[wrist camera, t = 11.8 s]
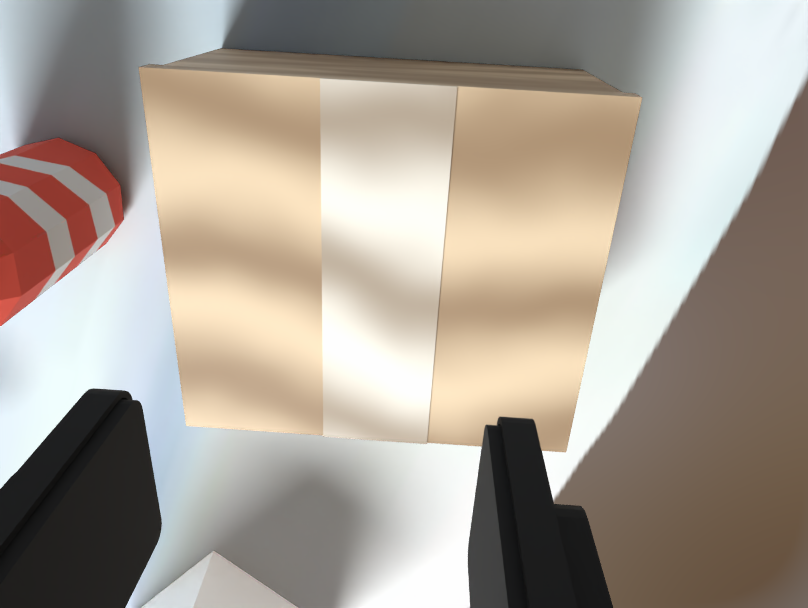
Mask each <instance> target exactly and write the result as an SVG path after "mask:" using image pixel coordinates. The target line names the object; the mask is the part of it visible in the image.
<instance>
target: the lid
mask: <svg viewBox="0 0 808 608" xmlns="http://www.w3.org/2000/svg"><path fill="white" fill-rule="evenodd" d="M139 74H140V82H141V89H142V97H143V104H144V112H145V119H146V127H147V134H148V142H149V149H150V157H151V164H152V172H153V180H154V187H155V195H156V202H157V210H158V217H159V225H160V232H161V240H162V247H163V255H164V262H165V270H166V278H167V285H168V293H169V300H170V308H171V315H172V323H173V330H174V338H175V345H176V353H177V360H178V368H179V375H180V383H181V391H182V398H183V406H184V413H185V421H186V426H195V427H210V428H224V429H239V430H253V431H267V432H282V433H296V434H310V435H323V437H334V438H349V439H363V440H377V441H392V442H406V443H420V444H427V443H440V444H454V445H468V446H482V442H483V435H484V428H485V425H497V421H498V418H499V417H515V418H529V419H533V420H534V421H535V424H536V428H537V433H538V437H539V442H540V446H541V450H542V451H555V452H566V450H567V446H568V441H569V436H570V432H571V427H572V422H573V418H574V413H575V408H576V404H577V399H578V394H579V390H580V385H581V380H582V376H583V371H584V366H585V362H586V357H587V353H588V348H589V343H590V339H591V334H592V329H593V325H594V320H595V315H596V311H597V306H598V301H599V297H600V292H601V287H602V283H603V278H604V273H605V269H606V264H607V259H608V255H609V250H610V245H611V241H612V236H613V232H614V227H615V222H616V218H617V213H618V208H619V204H620V199H621V194H622V190H623V185H624V180H625V176H626V171H627V166H628V162H629V157H630V152H631V148H632V143H633V138H634V134H635V129H636V124H637V120H638V115H639V111H640V106H641V101H642V97H641V96H639V95H637V94H635V93H622V92H606V91H589V90H572V89H555V88H539V87H522V86H505V85H489V84H472V83H455V82H439V81H422V80H405V79H388V78H372V77H355V76H338V75H322V74H305V73H288V72H272V71H255V70H238V69H221V68H205V67H188V66H171V65H155V64H149V65H145V66H141V67H139Z"/></svg>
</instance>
